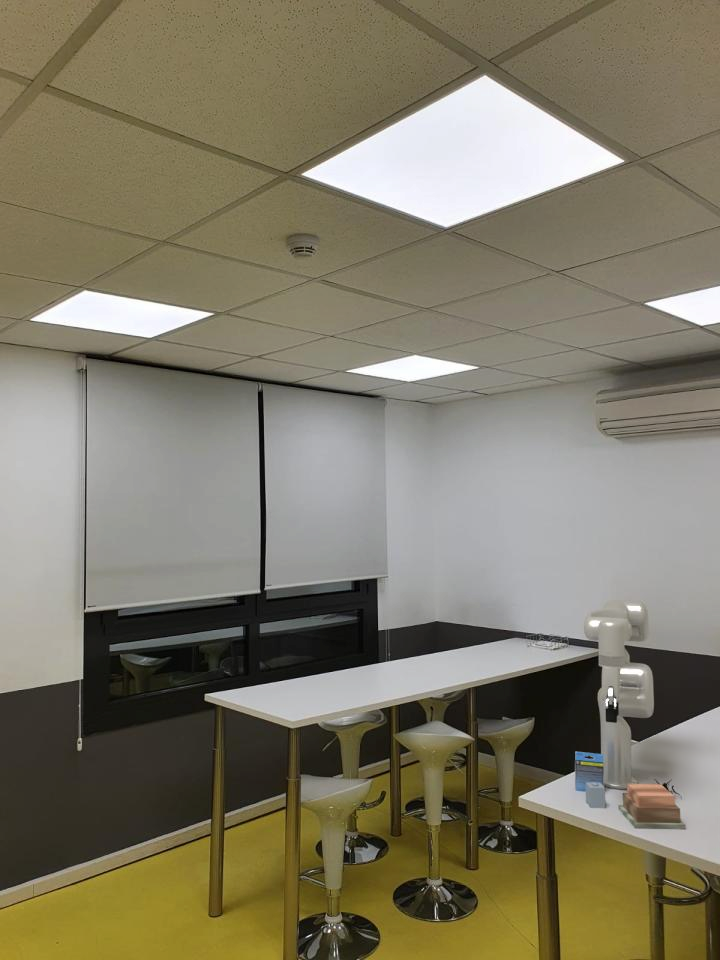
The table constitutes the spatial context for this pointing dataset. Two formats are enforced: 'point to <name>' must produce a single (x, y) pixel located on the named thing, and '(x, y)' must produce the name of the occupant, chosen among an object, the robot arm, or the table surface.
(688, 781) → the table surface
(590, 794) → the slate brick
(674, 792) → the creature
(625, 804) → the stepped plate stack
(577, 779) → the label tape box
